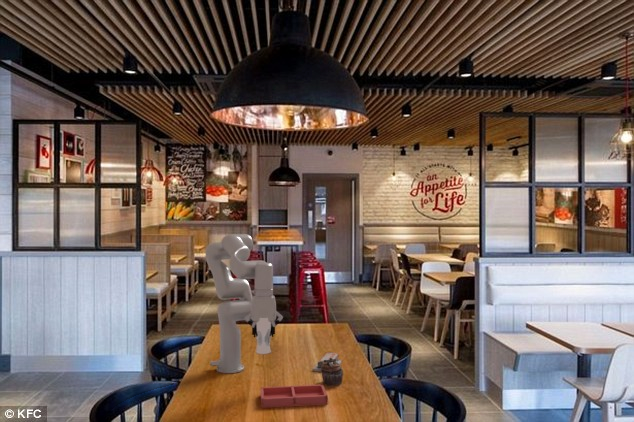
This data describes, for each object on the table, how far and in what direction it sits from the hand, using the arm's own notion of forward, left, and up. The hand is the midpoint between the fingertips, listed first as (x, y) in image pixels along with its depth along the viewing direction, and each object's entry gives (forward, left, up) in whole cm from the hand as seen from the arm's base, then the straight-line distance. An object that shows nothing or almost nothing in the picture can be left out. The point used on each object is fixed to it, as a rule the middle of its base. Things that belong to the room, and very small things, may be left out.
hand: (263, 335), depth 215 cm
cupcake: (+29, +5, -22) cm, 37 cm away
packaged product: (+31, +28, -23) cm, 47 cm away
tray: (+11, -13, -22) cm, 28 cm away
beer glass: (0, 0, -7) cm, 7 cm away
